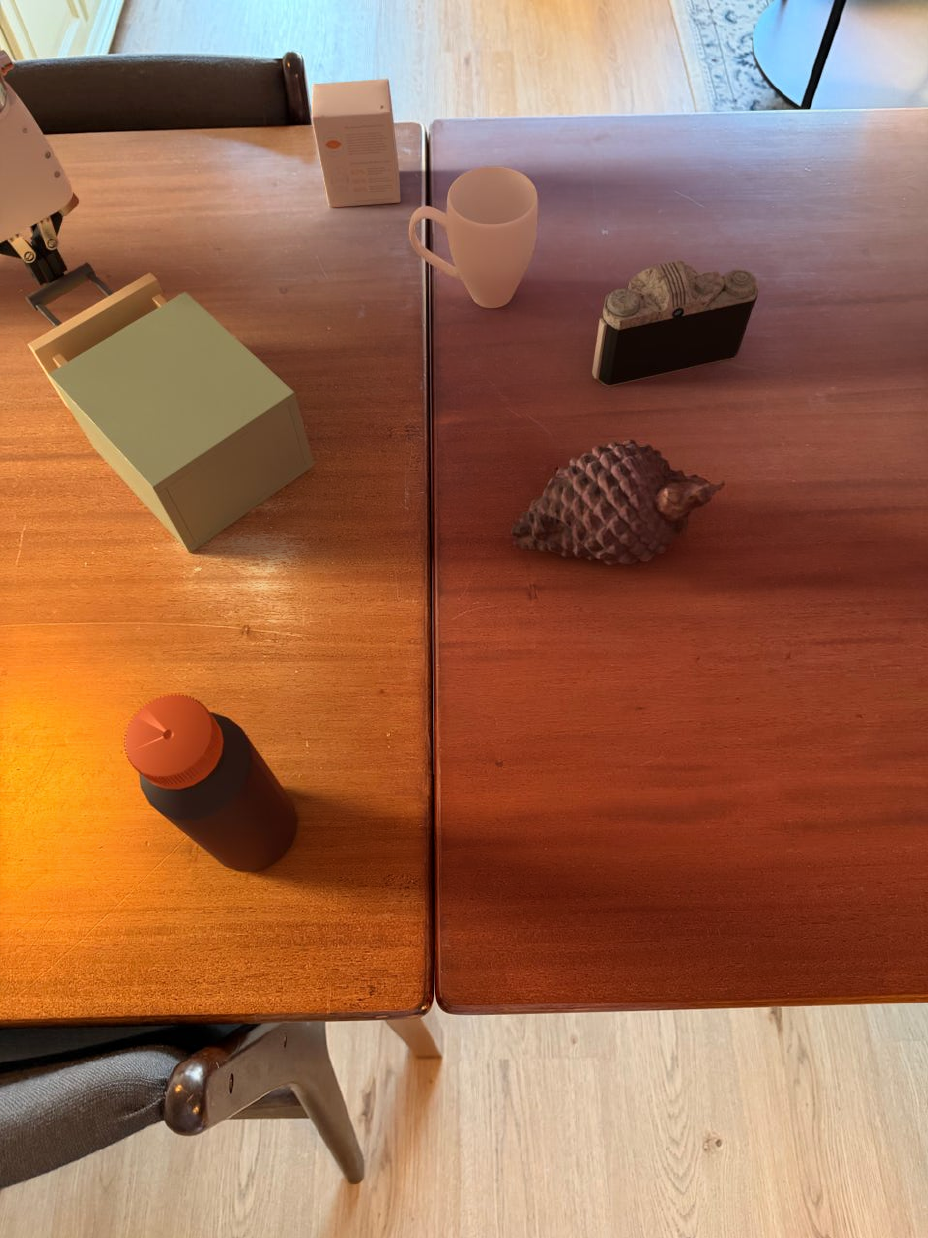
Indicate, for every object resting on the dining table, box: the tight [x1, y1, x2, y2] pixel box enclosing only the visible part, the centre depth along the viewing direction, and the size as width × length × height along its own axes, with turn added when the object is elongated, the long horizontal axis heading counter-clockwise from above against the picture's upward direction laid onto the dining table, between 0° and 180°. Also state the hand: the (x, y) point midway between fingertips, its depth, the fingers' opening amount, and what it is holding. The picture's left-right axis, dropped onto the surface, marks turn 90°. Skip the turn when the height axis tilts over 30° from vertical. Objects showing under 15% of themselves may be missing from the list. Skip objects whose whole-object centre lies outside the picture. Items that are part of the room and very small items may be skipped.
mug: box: [408, 165, 539, 309], centre depth 87 cm, size 12×8×11 cm
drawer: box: [25, 261, 168, 412], centre depth 82 cm, size 22×13×8 cm, turn 42°
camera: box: [591, 260, 759, 387], centre depth 83 cm, size 15×7×10 cm, turn 105°
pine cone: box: [510, 439, 726, 566], centre depth 74 cm, size 18×10×10 cm
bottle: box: [123, 693, 299, 873], centre depth 58 cm, size 7×7×20 cm
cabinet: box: [48, 291, 316, 554], centre depth 79 cm, size 16×14×10 cm
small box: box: [311, 78, 401, 208], centre depth 95 cm, size 8×6×10 cm
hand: (54, 282), depth 86 cm, fingers closed
